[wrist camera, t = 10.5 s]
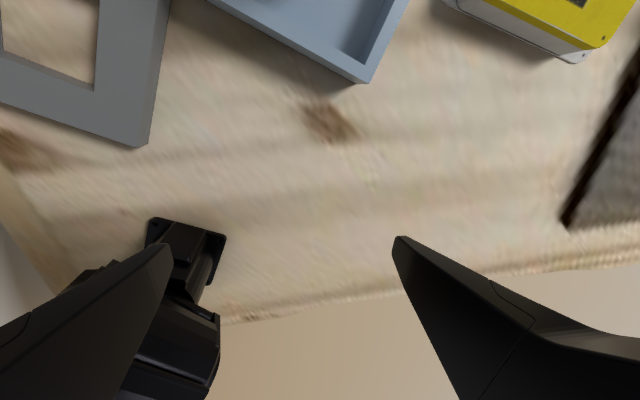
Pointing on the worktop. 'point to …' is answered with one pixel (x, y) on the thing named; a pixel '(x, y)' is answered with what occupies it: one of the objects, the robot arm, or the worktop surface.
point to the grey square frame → (99, 76)
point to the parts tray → (326, 29)
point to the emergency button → (552, 22)
